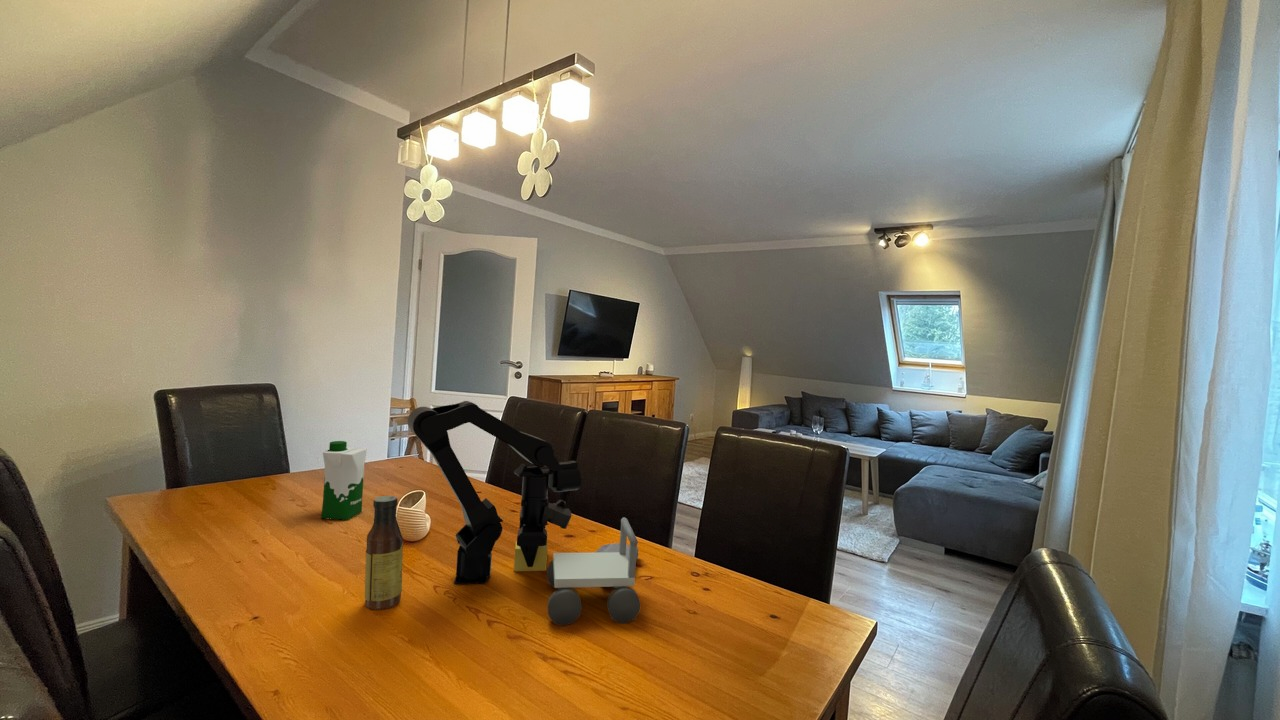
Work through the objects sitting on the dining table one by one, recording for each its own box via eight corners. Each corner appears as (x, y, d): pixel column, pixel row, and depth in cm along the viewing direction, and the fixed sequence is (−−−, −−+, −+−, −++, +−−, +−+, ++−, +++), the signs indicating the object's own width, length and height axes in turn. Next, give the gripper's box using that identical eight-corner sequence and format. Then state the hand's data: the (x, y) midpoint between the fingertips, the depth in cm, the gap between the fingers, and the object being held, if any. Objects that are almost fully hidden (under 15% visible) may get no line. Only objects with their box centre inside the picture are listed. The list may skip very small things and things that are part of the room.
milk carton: (335, 509, 144) (339, 438, 144) (367, 511, 144) (371, 441, 144) (315, 519, 136) (319, 444, 135) (349, 522, 135) (353, 447, 135)
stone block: (588, 581, 115) (631, 579, 114) (585, 559, 116) (628, 557, 114) (602, 562, 127) (641, 560, 125) (599, 542, 127) (638, 540, 125)
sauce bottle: (408, 599, 98) (414, 496, 98) (382, 614, 92) (388, 505, 92) (381, 592, 100) (387, 491, 100) (354, 606, 95) (360, 499, 94)
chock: (513, 571, 113) (515, 548, 113) (514, 562, 118) (516, 541, 118) (545, 570, 115) (547, 548, 115) (545, 562, 119) (547, 541, 119)
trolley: (547, 625, 92) (552, 543, 92) (546, 584, 108) (550, 513, 108) (639, 622, 96) (644, 542, 95) (625, 583, 111) (630, 514, 111)
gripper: (573, 507, 108) (568, 580, 109) (568, 483, 127) (564, 545, 127) (519, 506, 106) (514, 581, 107) (522, 482, 125) (518, 546, 125)
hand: (530, 562), depth 116 cm, fingers closed on chock, 4 cm apart
